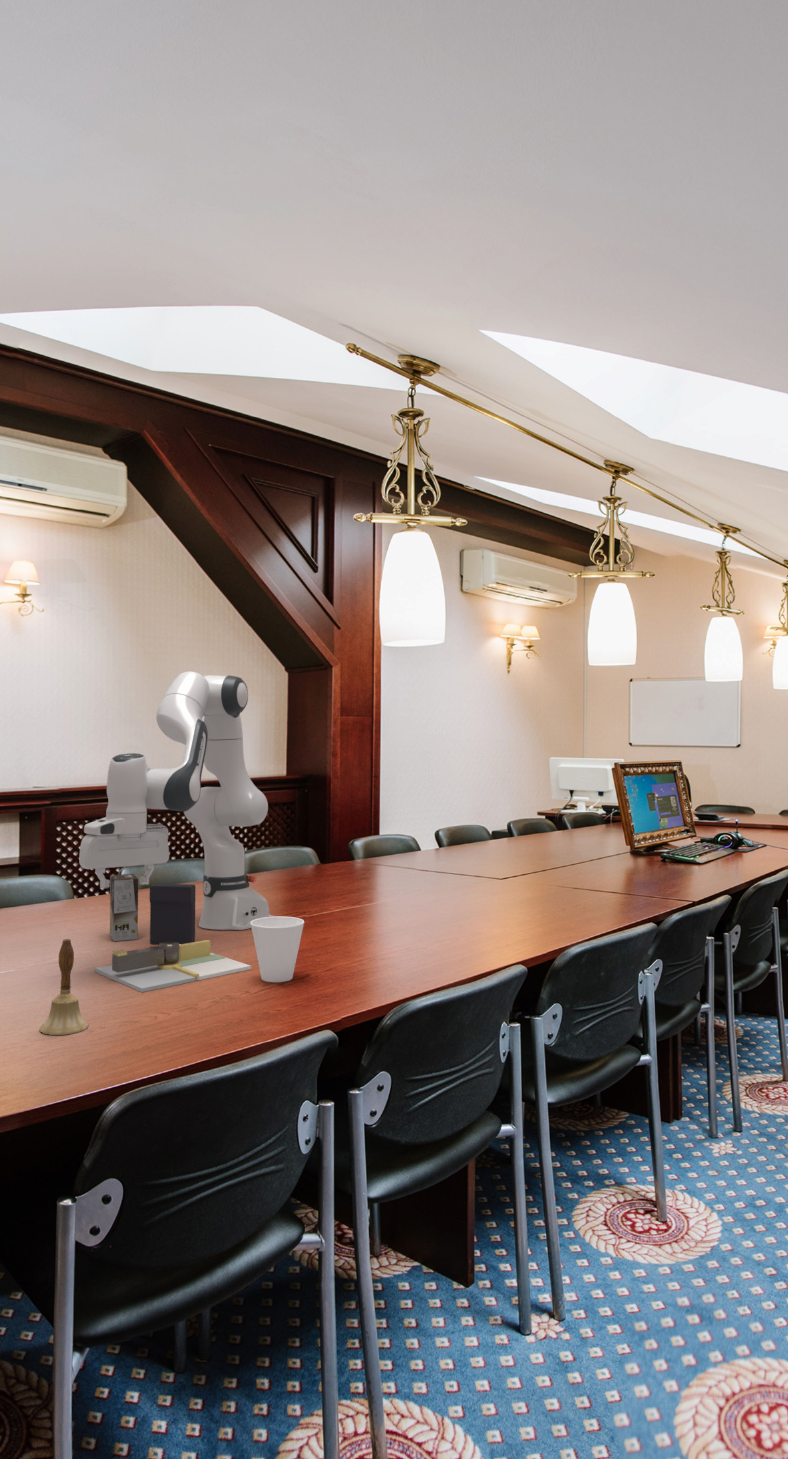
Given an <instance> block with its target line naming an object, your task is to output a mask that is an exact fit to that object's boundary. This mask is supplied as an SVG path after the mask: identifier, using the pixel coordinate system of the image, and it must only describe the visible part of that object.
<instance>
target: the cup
mask: <svg viewBox="0 0 788 1459" xmlns="http://www.w3.org/2000/svg"><path fill="white" fill-rule="evenodd" d="M250 924H251V927H252V928H251V932H252V937H253V941H254V946H255V952H256V958H257V963H258V968H259V974H260V977H261V980H262V981H263V982H267V983H283V982H284V983H285V982H287V981H291V980H292V979H293V978H294V973H295V972H294V971H295V968H296V962H297V958H298V954H299V949H300V945H301V939H302V934H303V929H304V925H305V921H304V919H302V918H298V917H293V916H280V915H279V916H278V915H277V916H275V917H264V918H259V919H255V920H252V921H251V922H250Z"/></svg>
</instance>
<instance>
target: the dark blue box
mask: <svg viewBox="0 0 788 1459" xmlns="http://www.w3.org/2000/svg"><path fill="white" fill-rule="evenodd" d="M149 902H150V903H149V904H150V908H149V909H150V912H149V914H150V916H149V917H150V918H149V920H150V921H149V925H150V926H149V943H150V944H151V945H159V944H160V943H162V942H167V941H175V942H179V944H187V943H192V942H196V884H188V883H187V884H184V883H183V884H182V883H179V884H177V883H154V884H152V885H150V886H149Z"/></svg>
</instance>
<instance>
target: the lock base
mask: <svg viewBox="0 0 788 1459" xmlns="http://www.w3.org/2000/svg"><path fill="white" fill-rule="evenodd" d="M251 969H252V965H250V964H247V963H244V962H241V961H239V960H238V961H237V960H234V959H231V958H228V957H225V956H223V955H219V954H217V953H213V952H211V940H208V939H205V940H200V941H195V942H192V943H187V944H181V945H179V961H178V962H176V963H170V964H161V965H156V966H150V967H145V968H140V969H135V970H130V971H124V972H119V973H118V972H115V971H113V970H112V964H110V965H104V966H99V967H94V972H95V973H97V974H99V975H101V976H102V977H103V976H104V977H106V978H109V979H110V980H113V981H115V982H117V983H119V984H122V985H124V986H126V987H129V988H131V989H133V990H136V991H138V992H140V993H145V992H146V993H147V992H149V991H155V990H159V989H160V990H161V989H165V988H168V987H169V988H170V987H174V986H179V985H183V984H188V983H194V982H197V981H202V980H206V979H207V980H208V979H211V978H217V977H220V976H225V975H226V976H227V975H230V974H234V973H239V972H245V971H249V970H251Z"/></svg>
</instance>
